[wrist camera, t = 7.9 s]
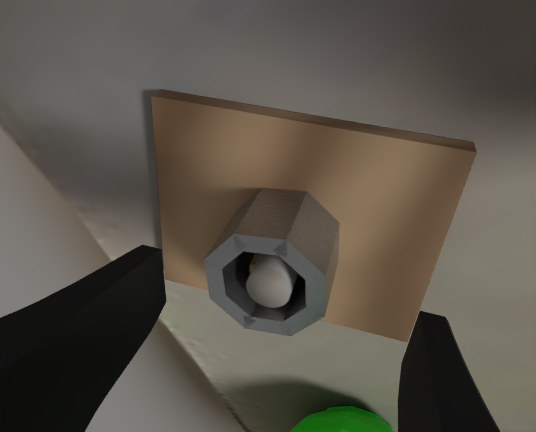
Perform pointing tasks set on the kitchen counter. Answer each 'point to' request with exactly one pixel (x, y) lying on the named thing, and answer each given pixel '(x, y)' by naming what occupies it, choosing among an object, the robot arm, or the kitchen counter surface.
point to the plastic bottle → (342, 421)
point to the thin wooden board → (321, 188)
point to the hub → (281, 244)
